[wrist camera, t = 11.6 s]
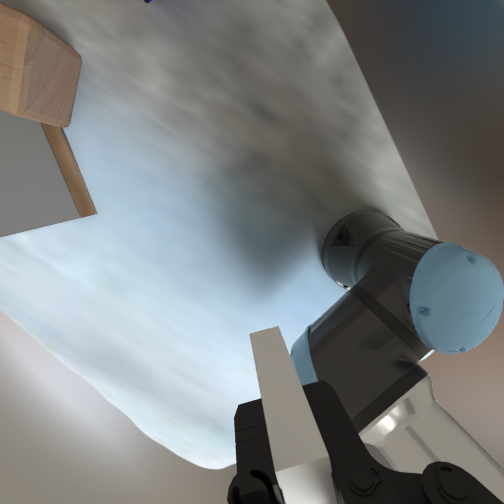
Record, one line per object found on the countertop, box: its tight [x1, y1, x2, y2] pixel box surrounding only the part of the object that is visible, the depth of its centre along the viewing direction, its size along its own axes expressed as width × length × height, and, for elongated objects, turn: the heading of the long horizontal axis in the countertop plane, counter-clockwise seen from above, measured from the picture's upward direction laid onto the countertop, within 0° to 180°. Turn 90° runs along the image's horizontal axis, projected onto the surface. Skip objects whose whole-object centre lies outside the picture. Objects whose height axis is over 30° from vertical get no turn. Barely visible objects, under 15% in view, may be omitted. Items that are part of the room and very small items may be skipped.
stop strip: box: [41, 123, 97, 218], centre depth 39 cm, size 2×24×1 cm, turn 13°
